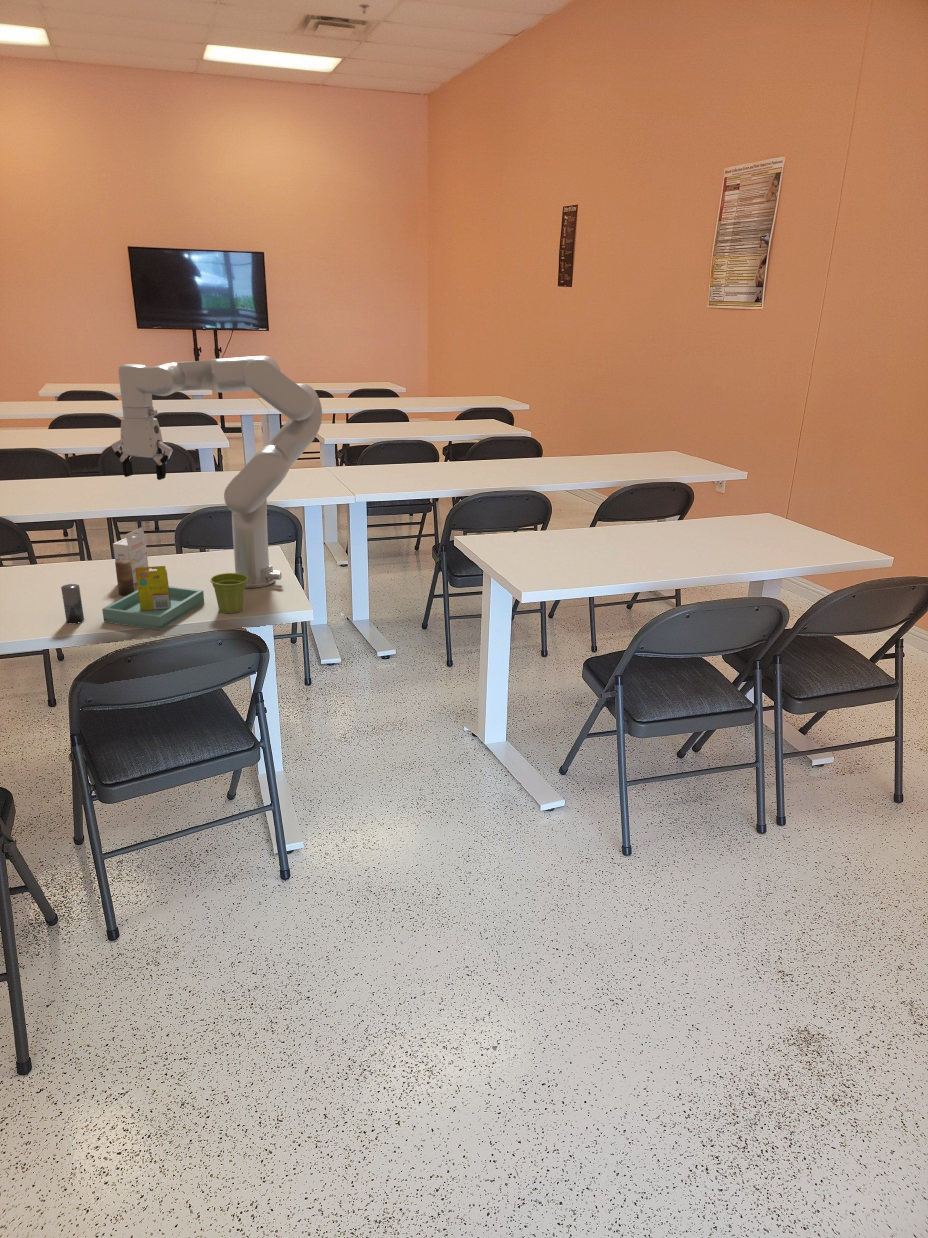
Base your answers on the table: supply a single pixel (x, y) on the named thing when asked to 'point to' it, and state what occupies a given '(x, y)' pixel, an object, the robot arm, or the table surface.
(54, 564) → the table surface
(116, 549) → the ink cartridge box
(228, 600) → the plant pot
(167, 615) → the teal tray
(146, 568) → the crayon box
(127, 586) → the walnut cylinder
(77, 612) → the graphite cylinder
